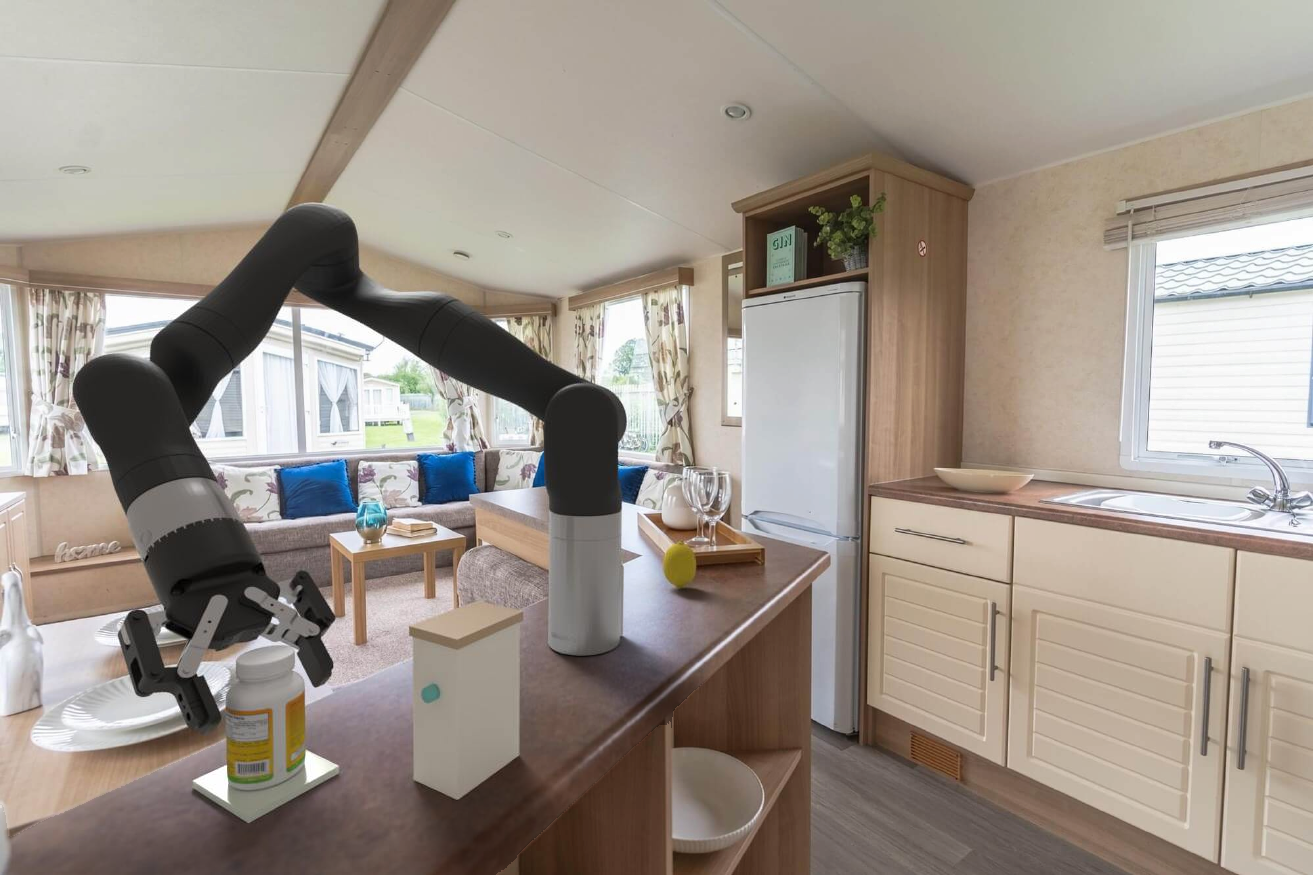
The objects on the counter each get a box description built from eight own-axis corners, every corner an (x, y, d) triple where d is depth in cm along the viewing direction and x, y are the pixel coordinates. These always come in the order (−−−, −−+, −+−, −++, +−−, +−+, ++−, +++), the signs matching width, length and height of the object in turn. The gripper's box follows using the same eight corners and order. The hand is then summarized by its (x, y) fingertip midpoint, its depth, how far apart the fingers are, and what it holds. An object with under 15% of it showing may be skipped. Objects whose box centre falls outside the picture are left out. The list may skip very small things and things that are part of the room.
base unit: (478, 737, 56) (478, 600, 55) (523, 754, 53) (524, 611, 53) (403, 784, 49) (402, 628, 48) (451, 806, 46) (451, 642, 46)
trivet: (283, 745, 54) (283, 738, 54) (339, 773, 50) (338, 765, 50) (192, 787, 48) (192, 780, 48) (248, 823, 44) (248, 815, 44)
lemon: (696, 594, 99) (697, 545, 99) (662, 593, 100) (663, 545, 99) (694, 584, 105) (695, 538, 105) (662, 583, 105) (663, 537, 105)
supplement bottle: (291, 745, 53) (290, 636, 53) (316, 770, 50) (315, 653, 49) (217, 773, 49) (215, 654, 49) (239, 802, 46) (237, 674, 45)
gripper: (264, 551, 61) (336, 691, 56) (76, 588, 49) (148, 771, 44) (294, 504, 58) (373, 646, 53) (103, 530, 46) (183, 719, 41)
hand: (272, 702), depth 48 cm, fingers open, 8 cm apart
